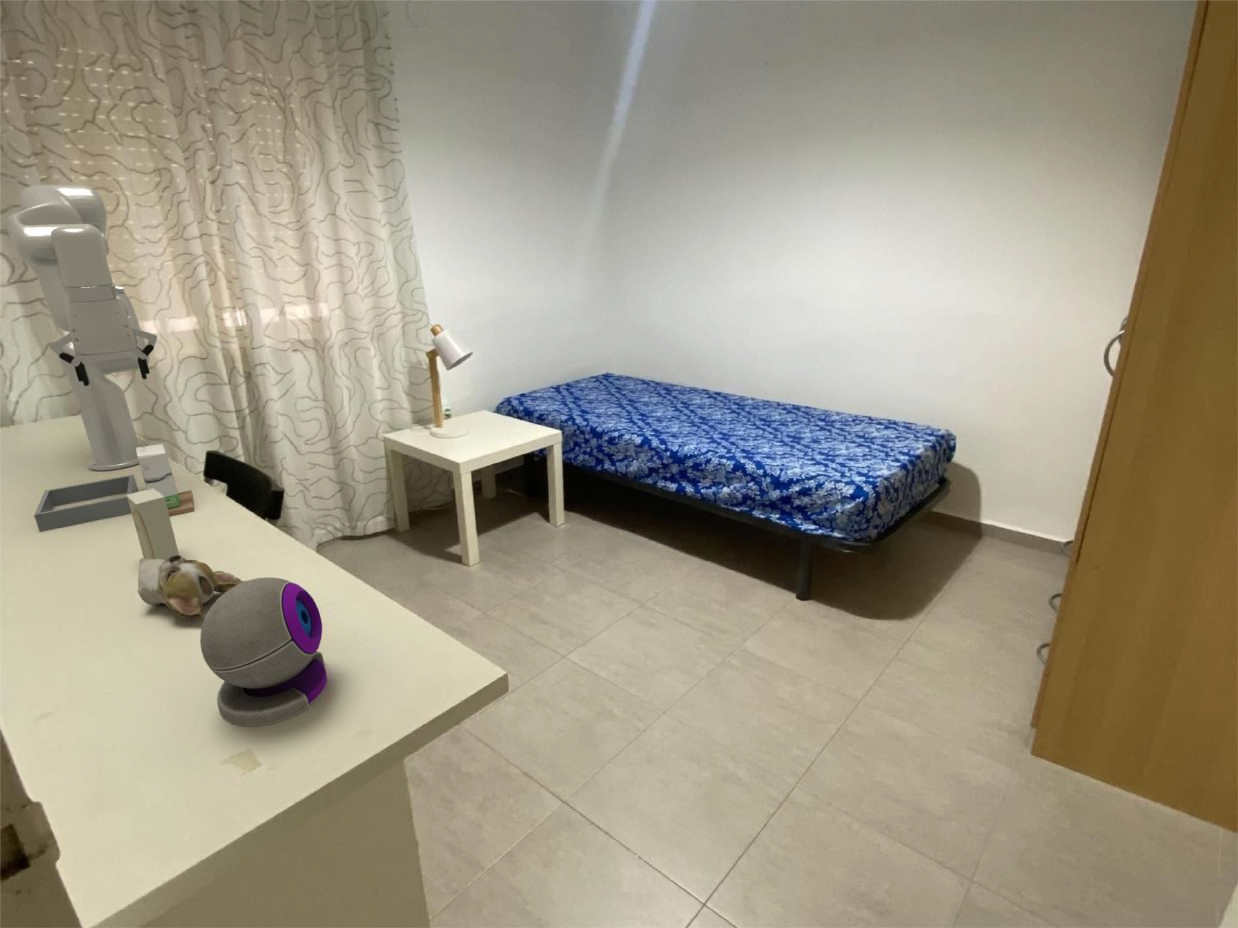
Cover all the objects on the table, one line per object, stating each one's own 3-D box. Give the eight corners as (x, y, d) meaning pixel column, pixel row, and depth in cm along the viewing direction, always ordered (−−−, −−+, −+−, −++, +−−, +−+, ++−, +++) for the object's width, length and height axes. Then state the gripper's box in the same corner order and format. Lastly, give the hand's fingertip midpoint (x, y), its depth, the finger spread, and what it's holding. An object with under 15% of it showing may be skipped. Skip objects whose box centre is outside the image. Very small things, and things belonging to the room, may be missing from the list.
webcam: (321, 716, 80) (296, 606, 75) (202, 735, 78) (168, 622, 73) (339, 652, 92) (319, 553, 87) (237, 666, 90) (210, 565, 85)
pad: (143, 504, 144) (141, 499, 144) (192, 494, 148) (191, 490, 148) (142, 521, 135) (140, 517, 135) (194, 511, 140) (193, 506, 139)
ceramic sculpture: (168, 533, 109) (246, 548, 105) (180, 580, 112) (256, 596, 108) (105, 565, 99) (188, 582, 96) (120, 616, 102) (201, 634, 99)
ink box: (181, 506, 140) (167, 451, 135) (153, 512, 137) (137, 457, 133) (177, 494, 146) (163, 441, 142) (149, 500, 143) (134, 446, 139)
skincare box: (143, 558, 120) (124, 494, 116) (171, 549, 123) (154, 487, 119) (153, 569, 116) (134, 504, 112) (182, 559, 119) (164, 495, 115)
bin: (50, 505, 145) (45, 490, 143) (137, 489, 152) (133, 474, 151) (39, 531, 132) (33, 515, 131) (135, 512, 140) (131, 496, 139)
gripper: (145, 289, 138) (166, 371, 145) (37, 295, 130) (64, 383, 136) (145, 293, 133) (167, 379, 139) (32, 300, 124) (61, 391, 130)
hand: (116, 381), depth 138 cm, fingers open, 9 cm apart
